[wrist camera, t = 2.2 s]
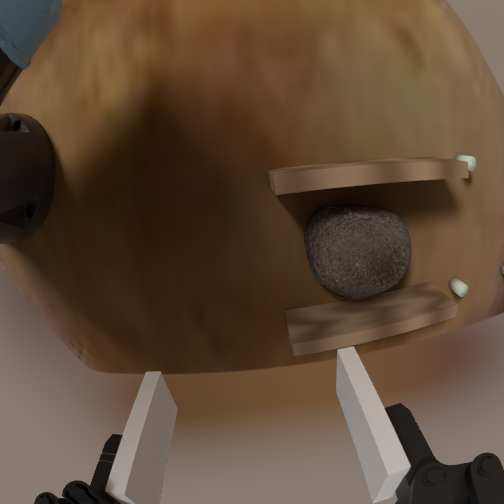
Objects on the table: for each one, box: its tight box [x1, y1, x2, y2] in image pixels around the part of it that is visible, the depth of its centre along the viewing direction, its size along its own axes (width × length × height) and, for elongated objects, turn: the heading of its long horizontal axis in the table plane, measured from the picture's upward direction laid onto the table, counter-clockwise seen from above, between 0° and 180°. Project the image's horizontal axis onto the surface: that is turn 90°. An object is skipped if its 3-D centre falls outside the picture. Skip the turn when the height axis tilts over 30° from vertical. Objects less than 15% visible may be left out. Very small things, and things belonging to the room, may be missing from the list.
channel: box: [267, 157, 468, 357], centre depth 26 cm, size 18×16×6 cm
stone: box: [305, 206, 411, 300], centre depth 27 cm, size 10×8×10 cm
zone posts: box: [449, 155, 504, 297], centre depth 27 cm, size 13×17×2 cm
